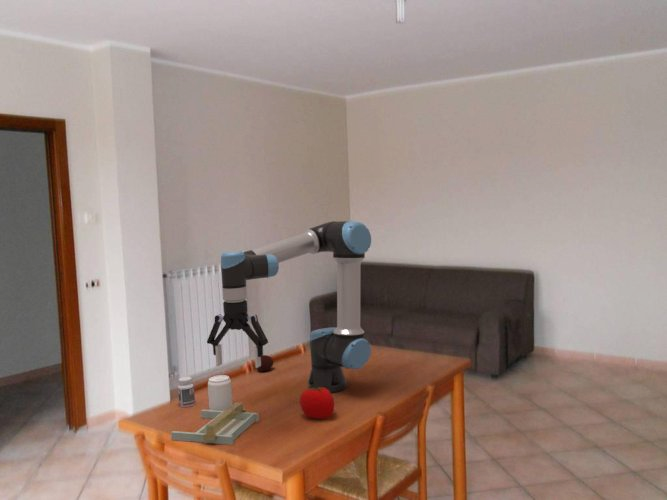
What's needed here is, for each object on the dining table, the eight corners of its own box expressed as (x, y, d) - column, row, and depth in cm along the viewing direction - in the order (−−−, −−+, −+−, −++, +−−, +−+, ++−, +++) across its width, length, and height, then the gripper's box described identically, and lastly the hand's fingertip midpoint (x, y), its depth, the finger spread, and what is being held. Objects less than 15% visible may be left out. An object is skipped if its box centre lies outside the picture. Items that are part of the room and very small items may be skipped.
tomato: (325, 425, 191) (323, 394, 190) (293, 418, 198) (292, 389, 197) (343, 413, 200) (341, 384, 199) (312, 408, 207) (310, 379, 206)
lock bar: (246, 414, 200) (245, 401, 200) (215, 441, 179) (214, 427, 178) (235, 413, 201) (235, 401, 201) (203, 440, 180) (202, 426, 179)
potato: (277, 368, 258) (276, 353, 257) (265, 374, 251) (264, 358, 250) (264, 367, 262) (263, 351, 261) (252, 372, 254) (251, 356, 254)
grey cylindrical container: (211, 408, 212) (209, 375, 211) (233, 406, 212) (231, 374, 211) (208, 416, 204) (206, 382, 203) (231, 414, 204) (229, 380, 203)
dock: (258, 420, 198) (258, 413, 197) (232, 444, 178) (231, 436, 178) (202, 416, 204) (202, 409, 203) (171, 440, 184) (170, 432, 184)
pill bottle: (198, 402, 218) (196, 376, 217) (189, 408, 213) (187, 381, 212) (184, 401, 220) (182, 375, 219) (176, 406, 215) (174, 380, 214)
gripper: (276, 298, 186) (279, 363, 188) (205, 298, 193) (209, 361, 195) (266, 302, 179) (270, 370, 181) (193, 302, 186) (198, 367, 188)
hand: (238, 365), depth 188 cm, fingers open, 13 cm apart
